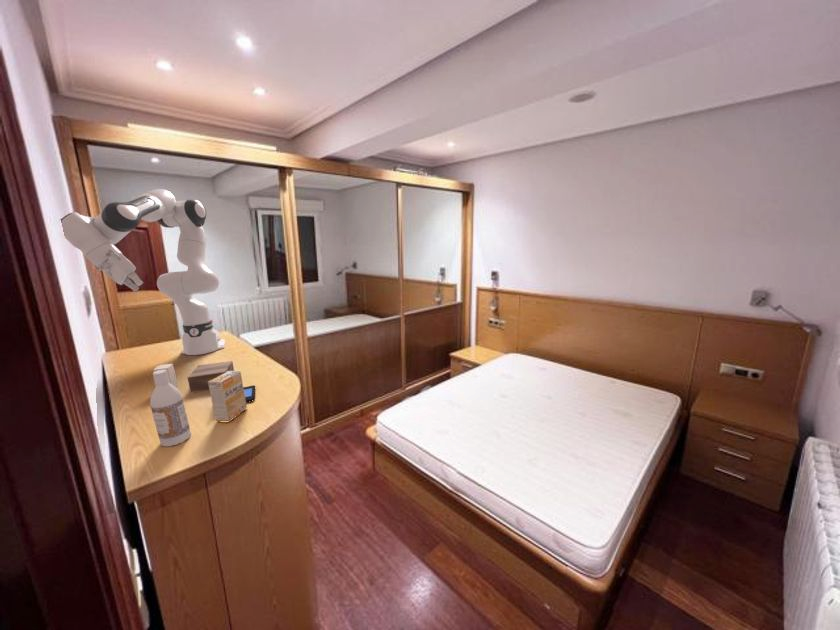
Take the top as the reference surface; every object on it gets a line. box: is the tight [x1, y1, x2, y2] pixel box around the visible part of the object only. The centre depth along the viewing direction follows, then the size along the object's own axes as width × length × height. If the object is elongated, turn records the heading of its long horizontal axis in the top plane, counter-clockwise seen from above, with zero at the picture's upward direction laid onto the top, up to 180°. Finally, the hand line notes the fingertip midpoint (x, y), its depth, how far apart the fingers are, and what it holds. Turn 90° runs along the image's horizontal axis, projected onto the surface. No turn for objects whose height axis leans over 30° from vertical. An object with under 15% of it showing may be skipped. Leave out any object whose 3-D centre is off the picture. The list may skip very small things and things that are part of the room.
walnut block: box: [187, 360, 235, 393], centre depth 130 cm, size 12×12×6 cm
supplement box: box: [208, 370, 248, 422], centre depth 105 cm, size 8×5×13 cm, turn 168°
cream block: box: [152, 363, 179, 389], centre depth 126 cm, size 4×4×9 cm
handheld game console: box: [243, 385, 256, 403], centre depth 117 cm, size 12×11×7 cm
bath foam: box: [149, 370, 192, 447], centre depth 92 cm, size 7×7×20 cm
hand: (139, 287), depth 128 cm, fingers open, 8 cm apart
